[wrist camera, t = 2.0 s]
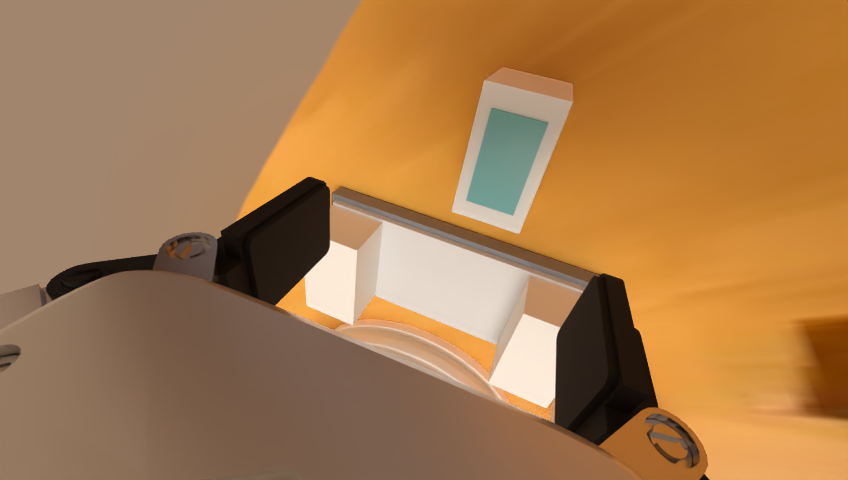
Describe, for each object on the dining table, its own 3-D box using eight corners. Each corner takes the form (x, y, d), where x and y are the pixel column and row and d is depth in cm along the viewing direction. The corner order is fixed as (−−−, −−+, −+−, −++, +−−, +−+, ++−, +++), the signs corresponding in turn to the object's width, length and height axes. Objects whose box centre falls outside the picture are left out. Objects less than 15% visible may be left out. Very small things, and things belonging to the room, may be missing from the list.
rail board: (603, 276, 27) (610, 337, 22) (552, 353, 33) (548, 415, 28) (340, 186, 32) (295, 219, 26) (339, 269, 38) (302, 308, 33)
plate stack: (498, 329, 34) (473, 439, 25) (523, 474, 47) (512, 581, 38) (293, 310, 46) (226, 381, 37) (359, 431, 59) (320, 505, 50)
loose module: (573, 83, 21) (573, 102, 16) (528, 194, 26) (518, 235, 21) (503, 66, 22) (483, 80, 17) (472, 177, 27) (450, 212, 22)
